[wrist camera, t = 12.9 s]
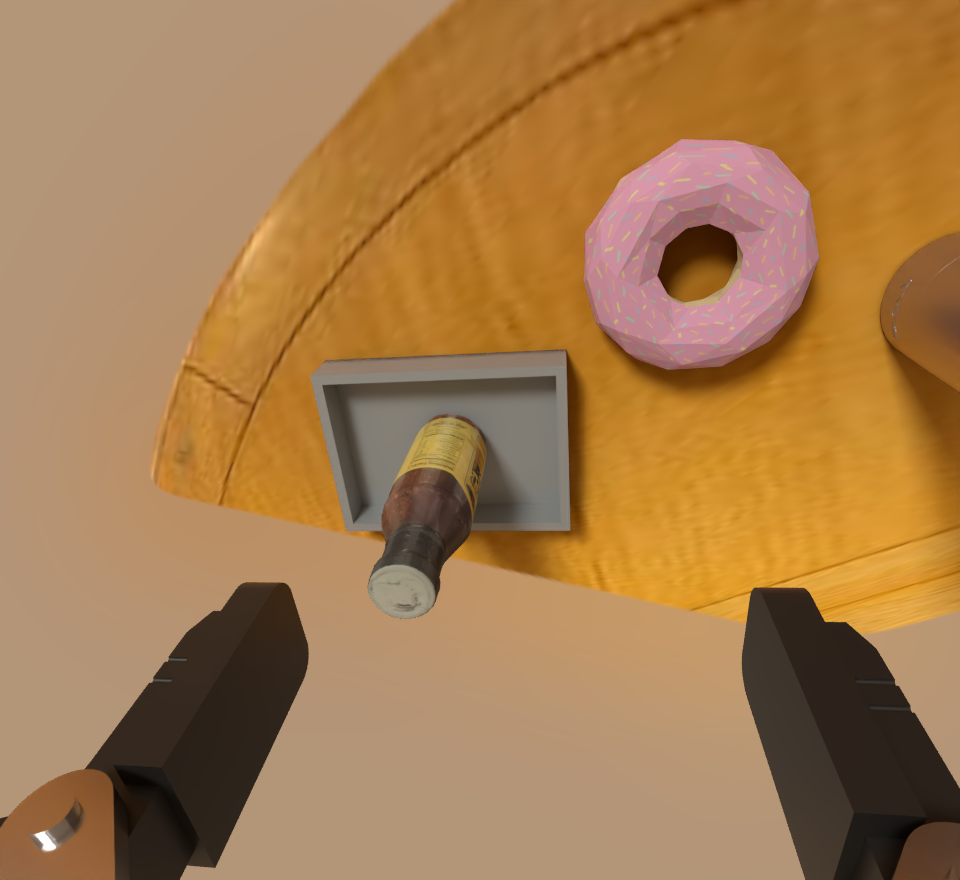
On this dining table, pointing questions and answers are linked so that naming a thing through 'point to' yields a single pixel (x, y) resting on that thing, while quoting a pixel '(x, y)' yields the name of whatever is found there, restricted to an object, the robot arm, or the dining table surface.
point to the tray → (461, 391)
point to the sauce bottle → (428, 514)
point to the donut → (689, 203)
